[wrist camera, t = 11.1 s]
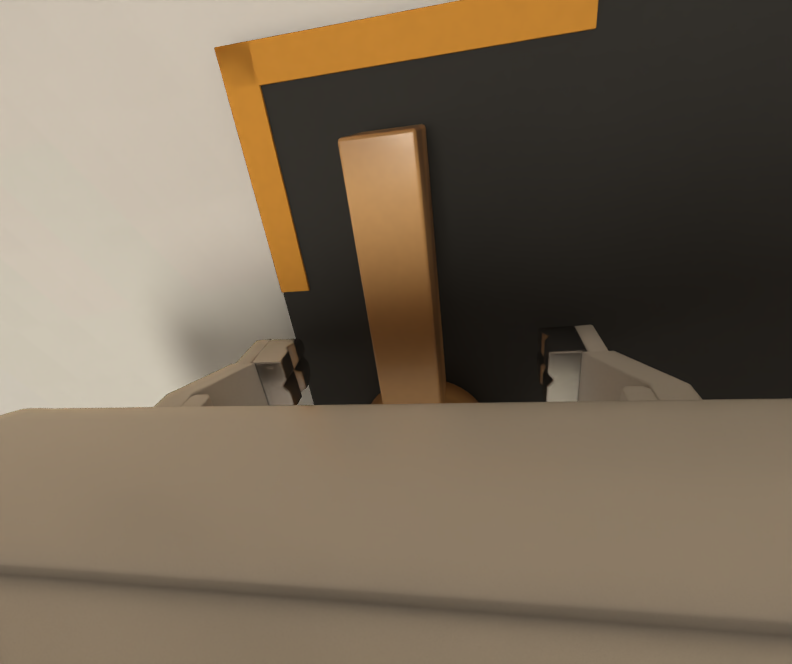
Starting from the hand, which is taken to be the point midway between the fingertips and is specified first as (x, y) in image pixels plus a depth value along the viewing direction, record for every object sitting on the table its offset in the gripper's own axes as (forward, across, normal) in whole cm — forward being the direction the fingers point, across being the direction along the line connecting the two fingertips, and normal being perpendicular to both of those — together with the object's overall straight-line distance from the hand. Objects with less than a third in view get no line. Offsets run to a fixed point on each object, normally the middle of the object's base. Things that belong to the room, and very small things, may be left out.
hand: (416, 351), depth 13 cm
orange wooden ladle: (+1, 0, 0) cm, 1 cm away
